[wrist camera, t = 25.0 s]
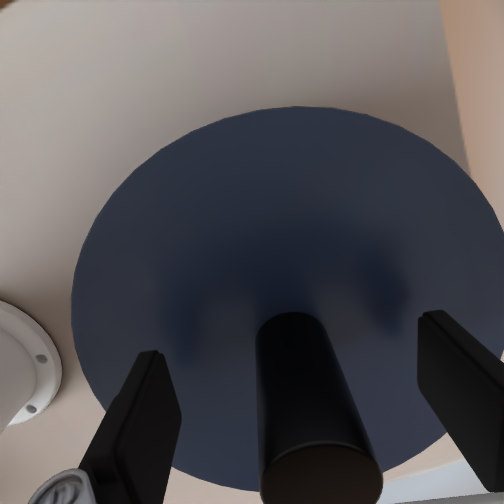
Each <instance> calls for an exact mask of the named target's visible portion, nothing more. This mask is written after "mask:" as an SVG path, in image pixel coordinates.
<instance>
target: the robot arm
mask: <svg viewBox="0 0 504 504" xmlns="http://www.w3.org/2000/svg"><path fill="white" fill-rule="evenodd" d="M61 378H62V366H61V360H60V357H59V354H58V351H57V349H56V347H55V345H54V343H53V342H52V340H51V338H50V337H49V335H48V334H47V333H46V332H45V331H44V330H43V328H42V327H41V326H40V325H39V324H38V323H37V322H35V321H34V320H33V319H32V318H31V317H29V316H28V315H27V314H25V313H24V312H22V311H21V310H19V309H17V308H16V307H14V306H12V305H10V304H7V303H5V302H3V301H1V300H0V434H1V432H2V431H3V430H4V429H5V428H6V426H10V425H15V424H19V423H23V422H25V421H28V420H30V419H32V418H34V417H35V416H37V415H38V414H40V413H41V412H42V411H43V410H44V409H45V408H46V407H47V406H48V405H49V404H50V402H51V401H52V399H53V398H54V396H55V395H56V394H57V392H58V389H59V387H60V384H61ZM417 384H418V388H419V390H420V392H421V394H422V395H423V396H424V398H425V399H426V401H427V402H428V404H429V405H430V407H431V408H432V410H433V411H434V413H435V414H436V416H437V417H438V419H439V420H440V422H441V423H442V425H443V426H444V428H445V429H446V431H447V432H448V434H449V435H450V437H451V438H452V440H453V441H454V443H455V444H456V446H457V447H458V449H459V450H460V452H461V453H462V454H463V456H464V457H465V459H466V460H467V462H468V463H469V465H470V466H471V468H472V469H473V471H474V472H475V474H476V475H477V477H478V478H479V480H480V481H481V483H482V484H483V486H484V487H485V488H486V490H488V491H489V492H494V493H487V494H477V495H468V496H459V497H450V498H441V499H432V500H423V501H414V502H405V503H396V504H504V363H503V362H502V361H501V360H500V359H498V358H497V357H496V356H495V355H494V354H493V353H492V352H491V351H489V350H488V349H487V348H486V347H485V346H484V345H482V344H481V343H480V342H479V341H478V340H477V339H476V338H475V337H473V336H472V335H471V334H470V333H469V332H468V331H467V330H466V329H465V328H463V327H462V326H461V325H460V324H459V323H458V322H457V321H456V320H454V319H453V318H452V317H451V316H450V315H449V314H448V313H447V312H445V311H444V310H434V311H427V312H424V313H423V315H422V317H419V318H418V338H417ZM181 423H182V414H181V410H180V406H179V403H178V400H177V396H176V393H175V389H174V386H173V383H172V379H171V376H170V373H169V369H168V366H167V362H166V359H165V356H164V354H163V353H160V354H159V352H158V350H151V351H144V352H140V353H139V354H138V356H137V358H136V360H135V362H134V364H133V366H132V368H131V370H130V372H129V374H128V376H127V378H126V380H125V382H124V384H123V386H122V388H121V390H120V392H119V394H118V395H117V396H115V397H114V399H113V400H112V402H111V404H110V406H109V408H108V410H107V412H106V414H105V416H104V418H103V420H102V422H101V424H100V426H99V428H98V430H97V432H96V433H95V435H94V437H93V439H92V441H91V443H90V445H89V447H88V449H87V451H86V453H85V455H84V457H83V459H82V461H81V463H80V465H79V467H78V469H75V468H72V469H68V470H65V471H62V472H60V473H58V474H56V475H54V476H53V477H51V478H50V479H49V480H47V481H46V482H45V483H44V484H43V485H41V486H40V487H39V488H38V489H37V490H36V492H35V493H34V494H33V496H32V497H31V499H30V500H29V502H28V504H163V500H164V496H165V492H166V487H167V483H168V479H169V475H170V470H171V466H172V462H173V457H174V453H175V449H176V445H177V440H178V436H179V432H180V427H181Z"/></svg>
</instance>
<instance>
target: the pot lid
mask: <svg viewBox="0 0 504 504" xmlns="http://www.w3.org/2000/svg"><path fill="white" fill-rule="evenodd" d="M434 310H444V311H445V312H447V313H448V314H449V315H450V316H451V317H452V318H453V319H454V320H456V321H457V322H458V323H459V324H460V325H461V326H462V327H463V328H465V329H466V330H467V331H468V332H469V333H470V334H471V335H472V336H473V337H475V338H476V339H477V340H478V341H479V342H480V343H481V344H482V345H484V346H485V347H486V348H487V349H488V350H489V351H491V352H492V353H493V354H494V355H495V356H496V357H497V358H498V359H501V356H502V353H503V351H504V232H503V230H502V228H501V225H500V223H499V221H498V219H497V217H496V214H495V212H494V210H493V208H492V207H491V205H490V204H489V202H488V201H487V199H486V198H485V196H484V195H483V193H482V192H481V191H480V189H479V188H478V186H477V185H476V183H475V182H474V181H473V180H472V179H471V178H470V177H469V176H468V175H467V174H466V173H465V172H464V171H463V170H462V168H461V167H460V166H459V165H458V164H457V163H456V162H455V161H454V160H452V159H451V158H450V157H448V156H447V155H446V154H444V153H443V152H442V151H440V150H439V149H438V148H437V147H435V146H434V145H433V144H431V143H430V142H429V141H427V140H425V139H423V138H421V137H419V136H417V135H415V134H414V133H412V132H410V131H408V130H406V129H404V128H402V127H400V126H398V125H395V124H392V123H390V122H387V121H384V120H381V119H378V118H375V117H373V116H370V115H367V114H362V113H357V112H351V111H346V110H341V109H336V108H326V107H303V106H292V107H282V108H272V109H262V110H256V111H252V112H248V113H244V114H240V115H236V116H232V117H228V118H224V119H221V120H219V121H216V122H214V123H211V124H209V125H206V126H204V127H201V128H199V129H196V130H194V131H191V132H190V133H188V134H186V135H184V136H183V137H181V138H179V139H177V140H176V141H174V142H172V143H171V144H169V145H167V146H165V147H164V148H162V149H160V150H159V151H158V152H157V153H155V154H154V155H153V156H152V157H150V158H149V159H148V160H147V161H145V162H144V163H143V164H141V165H140V166H139V167H138V168H136V169H135V170H134V171H133V172H132V173H131V174H130V175H129V177H128V178H127V179H126V180H125V181H124V182H123V183H122V184H121V185H120V186H119V187H118V188H117V189H116V190H115V191H114V192H113V194H112V195H111V197H110V198H109V200H108V201H107V202H106V204H105V205H104V207H103V208H102V210H101V211H100V213H99V214H98V215H97V217H96V218H95V221H94V223H93V225H92V227H91V229H90V231H89V233H88V235H87V237H86V239H85V241H84V243H83V246H82V249H81V252H80V256H79V259H78V262H77V265H76V269H75V273H74V280H73V287H72V294H71V325H72V331H73V337H74V343H75V349H76V352H77V355H78V358H79V361H80V364H81V368H82V371H83V373H84V375H85V377H86V379H87V381H88V383H89V385H90V387H91V389H92V391H93V393H94V395H95V396H96V398H97V399H98V401H99V402H100V404H101V405H102V407H103V408H104V410H105V411H106V412H107V410H108V408H109V406H110V404H111V402H112V400H113V399H114V397H115V396H117V395H118V394H119V392H120V390H121V388H122V386H123V384H124V382H125V380H126V378H127V376H128V374H129V372H130V370H131V368H132V366H133V364H134V362H135V360H136V358H137V356H138V354H139V353H140V352H144V351H151V350H158V352H159V354H160V353H163V354H164V356H165V359H166V362H167V366H168V369H169V373H170V376H171V379H172V383H173V386H174V389H175V393H176V396H177V400H178V403H179V406H180V410H181V414H182V423H181V427H180V432H179V436H178V440H177V445H176V449H175V453H174V457H173V462H172V467H174V468H175V469H177V470H179V471H182V472H184V473H186V474H189V475H191V476H193V477H196V478H198V479H201V480H204V481H208V482H211V483H214V484H217V485H221V486H225V487H230V488H235V489H240V490H246V491H255V492H260V496H261V499H262V501H263V503H264V504H376V503H377V501H378V500H379V498H380V495H381V493H382V489H383V472H385V471H387V470H389V469H392V468H394V467H396V466H398V465H400V464H402V463H404V462H405V461H407V460H409V459H411V458H412V457H414V456H416V455H417V454H419V453H421V452H422V451H424V450H425V449H426V448H428V447H429V446H430V445H432V444H433V443H434V442H436V441H437V440H438V439H440V438H441V437H442V436H443V435H444V434H445V433H447V431H446V429H445V428H444V426H443V425H442V423H441V422H440V420H439V419H438V417H437V416H436V414H435V413H434V411H433V410H432V408H431V407H430V405H429V404H428V402H427V401H426V399H425V398H424V396H423V395H422V394H421V392H420V390H419V388H418V384H417V338H418V318H419V317H422V315H423V313H424V312H427V311H434Z"/></svg>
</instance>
